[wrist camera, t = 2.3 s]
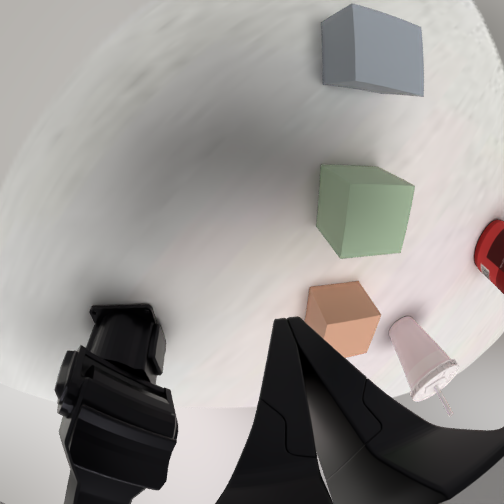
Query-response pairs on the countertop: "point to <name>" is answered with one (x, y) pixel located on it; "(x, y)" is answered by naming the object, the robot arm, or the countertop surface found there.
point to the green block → (363, 210)
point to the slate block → (372, 52)
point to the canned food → (492, 253)
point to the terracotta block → (343, 316)
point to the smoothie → (422, 361)
